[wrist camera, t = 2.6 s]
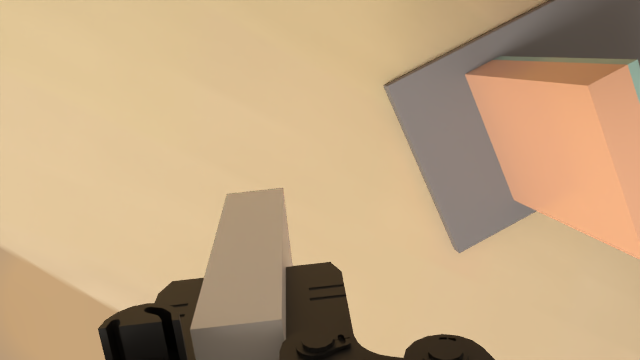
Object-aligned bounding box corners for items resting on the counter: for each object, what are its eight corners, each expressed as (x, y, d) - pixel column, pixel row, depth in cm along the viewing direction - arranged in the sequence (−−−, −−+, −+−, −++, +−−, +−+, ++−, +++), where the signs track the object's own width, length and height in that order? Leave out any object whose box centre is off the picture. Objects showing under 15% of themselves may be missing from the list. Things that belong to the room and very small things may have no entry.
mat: (454, 249, 40) (459, 253, 39) (383, 85, 37) (387, 86, 36) (703, 113, 42) (713, 114, 41) (657, -55, 39) (666, -57, 38)
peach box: (513, 200, 39) (646, 262, 28) (464, 74, 37) (587, 85, 25) (546, 182, 40) (691, 236, 28) (499, 56, 37) (637, 59, 26)
